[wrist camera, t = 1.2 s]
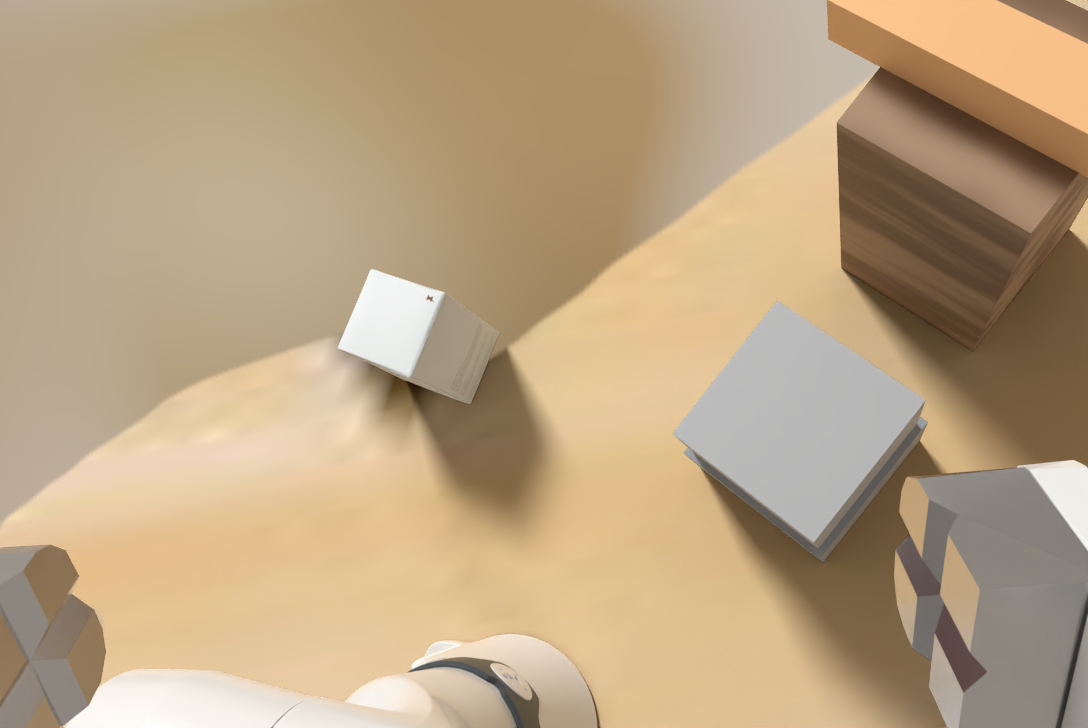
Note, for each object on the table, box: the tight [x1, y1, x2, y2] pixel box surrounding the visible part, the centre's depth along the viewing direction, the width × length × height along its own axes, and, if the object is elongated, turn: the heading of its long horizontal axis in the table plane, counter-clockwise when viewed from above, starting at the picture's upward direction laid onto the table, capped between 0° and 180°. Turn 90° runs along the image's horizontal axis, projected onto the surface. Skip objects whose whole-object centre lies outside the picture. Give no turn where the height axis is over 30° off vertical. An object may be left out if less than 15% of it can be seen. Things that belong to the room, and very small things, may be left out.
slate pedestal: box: [673, 301, 928, 563], centre depth 68 cm, size 12×12×17 cm
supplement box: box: [338, 270, 499, 404], centre depth 81 cm, size 7×7×13 cm
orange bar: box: [827, 0, 1088, 177], centre depth 49 cm, size 4×24×4 cm, turn 50°
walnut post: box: [837, 0, 1088, 351], centre depth 64 cm, size 12×12×26 cm
